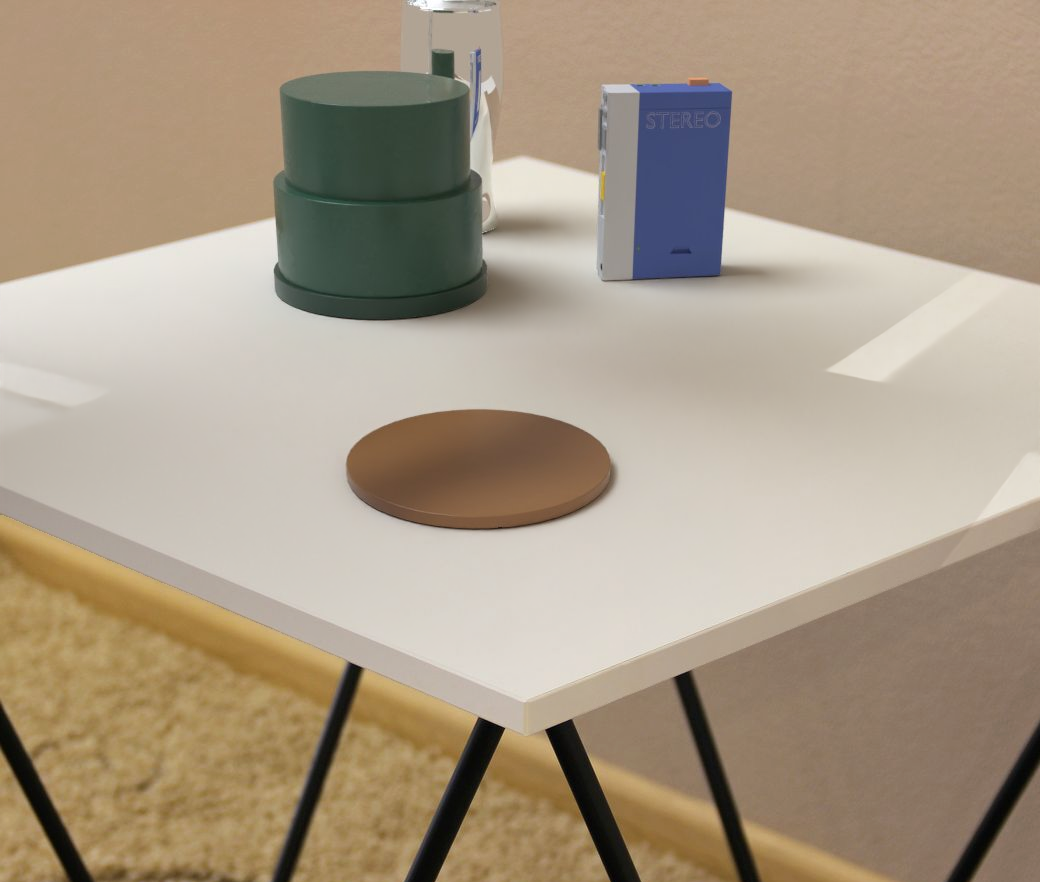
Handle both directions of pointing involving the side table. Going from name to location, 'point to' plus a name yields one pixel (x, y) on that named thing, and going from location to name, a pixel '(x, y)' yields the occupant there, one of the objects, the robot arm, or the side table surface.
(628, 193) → the walkman
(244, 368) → the side table surface
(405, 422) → the cork coaster
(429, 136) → the green tiered cylinder
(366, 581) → the side table surface
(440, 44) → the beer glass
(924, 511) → the side table surface
